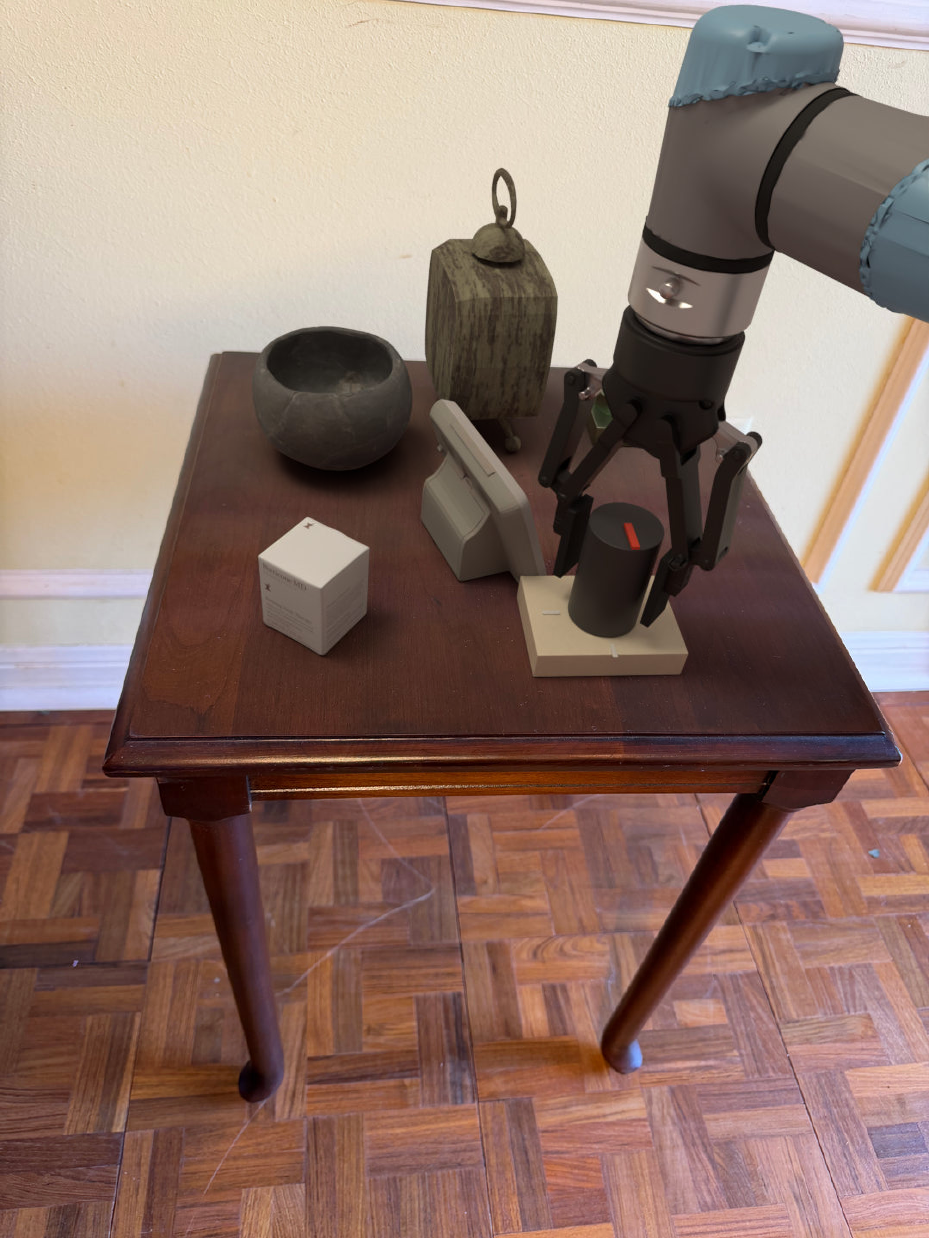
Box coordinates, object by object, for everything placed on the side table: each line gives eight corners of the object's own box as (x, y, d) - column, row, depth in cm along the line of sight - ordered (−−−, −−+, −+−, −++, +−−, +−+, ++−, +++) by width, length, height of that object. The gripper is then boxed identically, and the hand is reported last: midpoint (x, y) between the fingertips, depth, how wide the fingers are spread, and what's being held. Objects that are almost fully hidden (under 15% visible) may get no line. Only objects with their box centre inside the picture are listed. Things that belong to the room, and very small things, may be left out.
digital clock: (549, 599, 76) (571, 499, 69) (445, 608, 74) (457, 506, 67) (502, 484, 87) (517, 387, 80) (411, 489, 85) (417, 390, 78)
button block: (666, 447, 94) (676, 415, 91) (592, 445, 93) (600, 412, 90) (645, 397, 101) (653, 365, 98) (576, 394, 100) (582, 362, 97)
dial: (561, 588, 73) (583, 498, 67) (627, 588, 74) (655, 499, 68) (574, 638, 69) (598, 547, 63) (644, 637, 70) (674, 547, 64)
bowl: (416, 495, 84) (423, 402, 77) (255, 497, 82) (246, 401, 75) (402, 409, 95) (407, 320, 88) (258, 408, 92) (251, 317, 85)
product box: (261, 624, 71) (254, 554, 66) (309, 582, 75) (307, 513, 70) (322, 658, 69) (321, 589, 64) (369, 613, 73) (371, 545, 68)
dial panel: (651, 593, 78) (658, 570, 76) (681, 678, 71) (691, 656, 69) (515, 593, 76) (519, 570, 74) (533, 681, 69) (538, 657, 67)
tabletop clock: (533, 461, 90) (578, 206, 73) (446, 466, 88) (470, 205, 71) (498, 385, 100) (530, 144, 82) (418, 388, 98) (434, 142, 80)
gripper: (515, 277, 56) (476, 555, 72) (820, 405, 48) (701, 684, 64) (579, 245, 60) (529, 513, 76) (867, 357, 52) (745, 629, 69)
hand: (608, 591), depth 70 cm, fingers open, 7 cm apart
